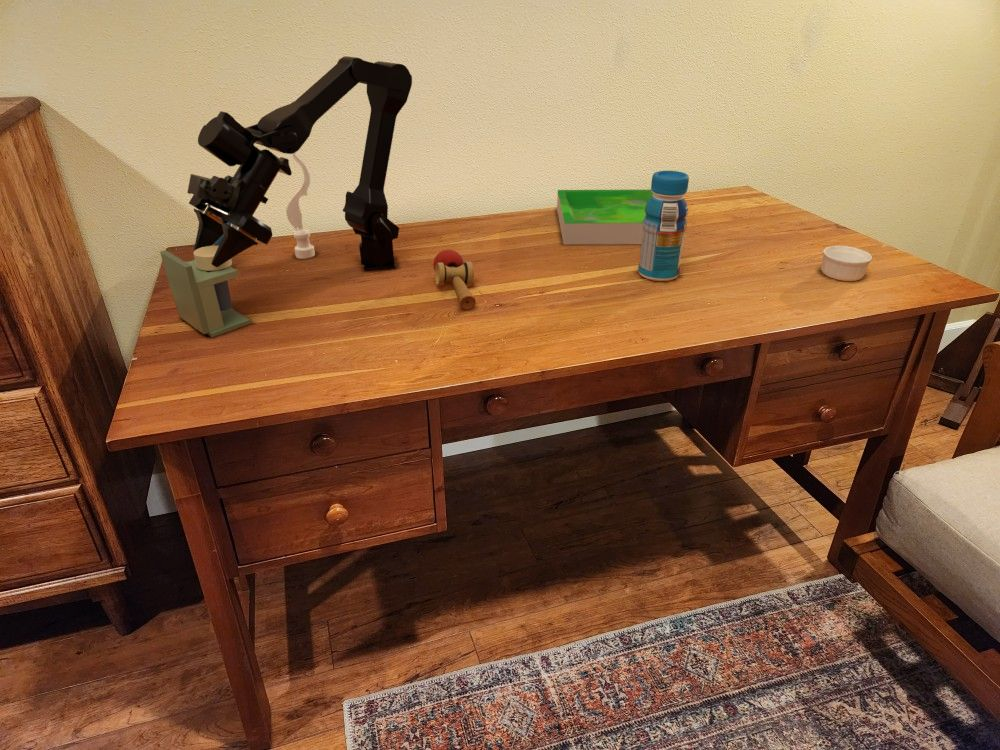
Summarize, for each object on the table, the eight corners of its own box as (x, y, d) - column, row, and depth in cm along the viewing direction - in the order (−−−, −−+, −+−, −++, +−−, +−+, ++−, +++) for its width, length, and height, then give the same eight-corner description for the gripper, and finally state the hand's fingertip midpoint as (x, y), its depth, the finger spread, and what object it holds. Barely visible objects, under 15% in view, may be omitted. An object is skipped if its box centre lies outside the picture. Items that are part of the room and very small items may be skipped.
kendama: (492, 312, 124) (466, 264, 138) (486, 284, 120) (460, 237, 133) (452, 324, 123) (430, 275, 137) (445, 296, 119) (423, 248, 132)
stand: (221, 305, 125) (205, 238, 118) (251, 323, 118) (235, 254, 112) (178, 319, 120) (158, 250, 113) (206, 339, 113) (187, 268, 107)
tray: (675, 244, 150) (678, 222, 147) (563, 244, 150) (564, 222, 148) (654, 208, 171) (657, 189, 169) (556, 209, 172) (557, 189, 169)
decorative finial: (294, 259, 144) (273, 139, 131) (293, 253, 147) (272, 134, 134) (322, 256, 145) (304, 136, 132) (320, 249, 149) (302, 132, 136)
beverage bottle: (629, 274, 135) (639, 175, 125) (651, 263, 141) (663, 166, 130) (665, 286, 131) (679, 183, 120) (687, 273, 136) (702, 174, 125)
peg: (241, 300, 122) (231, 244, 117) (237, 313, 117) (227, 255, 112) (208, 302, 121) (196, 246, 116) (202, 315, 116) (190, 257, 111)
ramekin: (875, 276, 134) (882, 256, 131) (847, 286, 130) (853, 265, 128) (836, 262, 140) (841, 242, 138) (808, 271, 136) (813, 250, 134)
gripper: (186, 145, 114) (138, 223, 113) (239, 164, 103) (187, 251, 102) (239, 182, 123) (195, 255, 122) (293, 203, 112) (246, 283, 111)
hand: (204, 260), depth 114 cm, fingers open, 6 cm apart
